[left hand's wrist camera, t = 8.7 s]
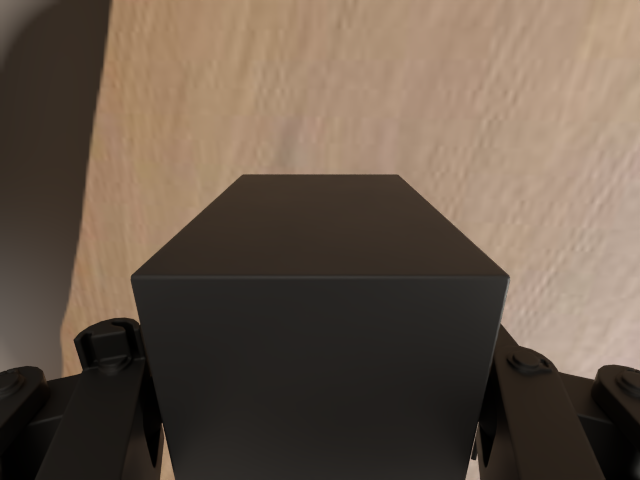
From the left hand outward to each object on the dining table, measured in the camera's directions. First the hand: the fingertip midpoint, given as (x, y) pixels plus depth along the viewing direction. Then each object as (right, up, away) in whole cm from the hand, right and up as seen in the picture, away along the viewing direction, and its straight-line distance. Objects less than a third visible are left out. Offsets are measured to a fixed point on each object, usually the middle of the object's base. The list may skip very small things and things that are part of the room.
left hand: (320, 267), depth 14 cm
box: (0, -7, +3) cm, 8 cm away
